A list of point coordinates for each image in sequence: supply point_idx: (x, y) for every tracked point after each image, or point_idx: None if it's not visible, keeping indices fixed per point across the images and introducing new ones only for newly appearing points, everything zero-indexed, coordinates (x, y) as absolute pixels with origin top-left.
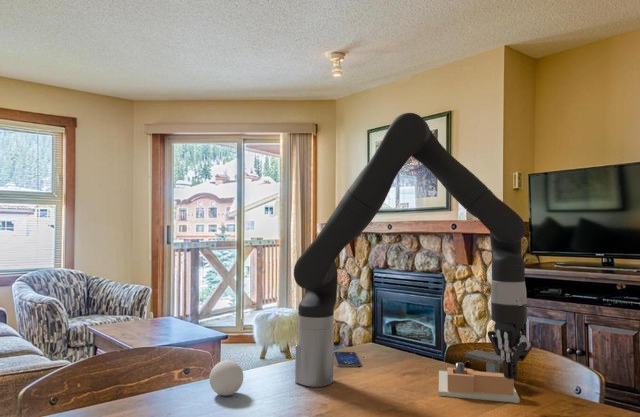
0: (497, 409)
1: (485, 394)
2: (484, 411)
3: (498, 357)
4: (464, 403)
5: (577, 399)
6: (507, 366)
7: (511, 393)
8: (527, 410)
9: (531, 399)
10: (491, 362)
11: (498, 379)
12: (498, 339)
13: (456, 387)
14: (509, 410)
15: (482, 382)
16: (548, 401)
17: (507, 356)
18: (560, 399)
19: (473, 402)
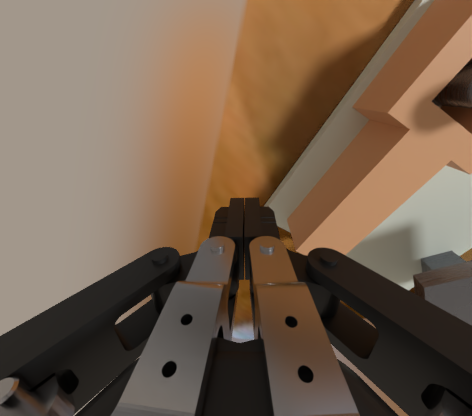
0: (237, 122)
1: (326, 144)
2: (233, 64)
3: (449, 312)
4: (321, 30)
5: (242, 316)
6: (230, 224)
7: (291, 217)
8: (212, 197)
9: None
10: (442, 270)
11: (326, 209)
12: (337, 383)
13: (418, 33)
14: (222, 152)
15: (362, 156)
16: None
17: (218, 261)
18: None
19: (314, 77)
